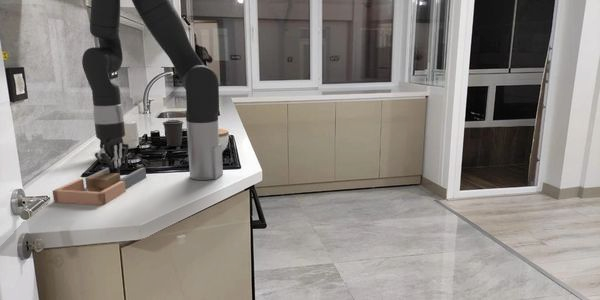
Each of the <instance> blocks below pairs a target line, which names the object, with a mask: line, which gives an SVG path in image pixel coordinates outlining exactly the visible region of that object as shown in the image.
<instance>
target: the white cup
mask: <svg viewBox="0 0 600 300" xmlns="http://www.w3.org/2000/svg"><path fill="white" fill-rule="evenodd" d="M124 128H125V136H124V137H122V139H123V143H124V144H128V145H129V147H128V150H129V149H136V148H138V147H137V146H138V145H139V146H140V130H139V121H138V120H132V119H131V120H124Z"/></svg>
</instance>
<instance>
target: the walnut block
mask: <svg viewBox="0 0 600 300" xmlns="http://www.w3.org/2000/svg"><path fill="white" fill-rule="evenodd" d="M119 179H121V172H120V173H104V172H100V173H98V174H96V175H94V176H91V177H89V178H87V186H88V188H87V191H93V192H101V191H103V190H105V189H107V188H108V187H110V186H112V185H114V184H116V183H118V182H119Z"/></svg>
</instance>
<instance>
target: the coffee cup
mask: <svg viewBox="0 0 600 300" xmlns="http://www.w3.org/2000/svg"><path fill="white" fill-rule="evenodd" d="M183 124H184V121H183V120H179V119H169V120H166V121H163V122H162V125H163V127H164V133H165V138H166V142H167V143H166V145H167V146H168V147H180V146H182V143H183V142H182V140H183Z"/></svg>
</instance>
